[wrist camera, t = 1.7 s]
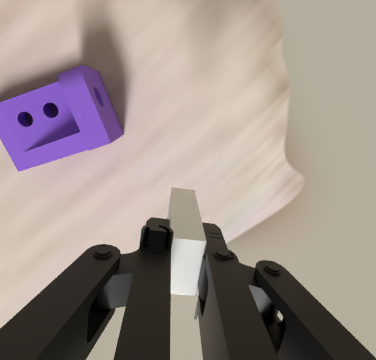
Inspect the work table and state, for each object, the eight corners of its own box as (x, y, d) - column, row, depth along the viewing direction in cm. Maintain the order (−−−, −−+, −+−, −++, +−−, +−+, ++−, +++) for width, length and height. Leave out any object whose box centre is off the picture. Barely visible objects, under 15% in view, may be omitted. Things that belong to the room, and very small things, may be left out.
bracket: (99, 71, 27) (76, 62, 21) (124, 133, 29) (110, 142, 23) (-6, 109, 28) (-61, 111, 21) (26, 168, 30) (-15, 186, 23)
